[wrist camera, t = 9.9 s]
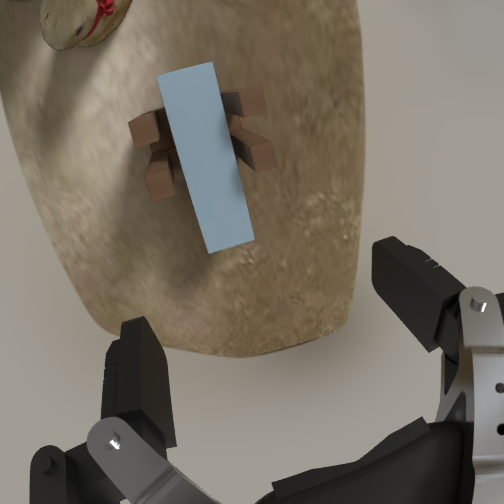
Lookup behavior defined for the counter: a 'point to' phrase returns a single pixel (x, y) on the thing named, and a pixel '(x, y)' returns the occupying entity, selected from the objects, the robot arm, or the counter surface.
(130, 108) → the counter surface
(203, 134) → the rail
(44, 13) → the chocolate bunny
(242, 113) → the wooden stool base
